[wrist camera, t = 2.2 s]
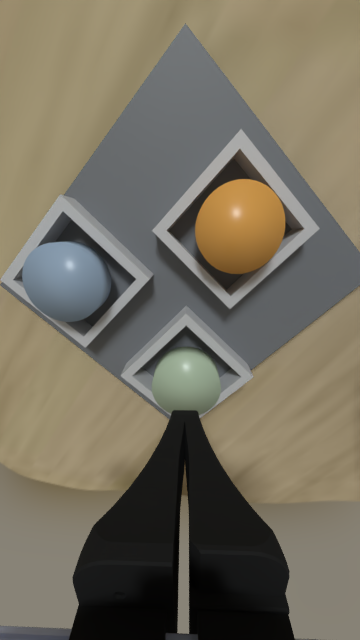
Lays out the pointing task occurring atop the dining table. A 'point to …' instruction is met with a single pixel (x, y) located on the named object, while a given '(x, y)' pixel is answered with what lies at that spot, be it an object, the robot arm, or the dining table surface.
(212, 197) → the button orange
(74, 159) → the dining table surface
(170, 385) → the button sage
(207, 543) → the robot arm
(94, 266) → the button blue
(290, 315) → the control board
